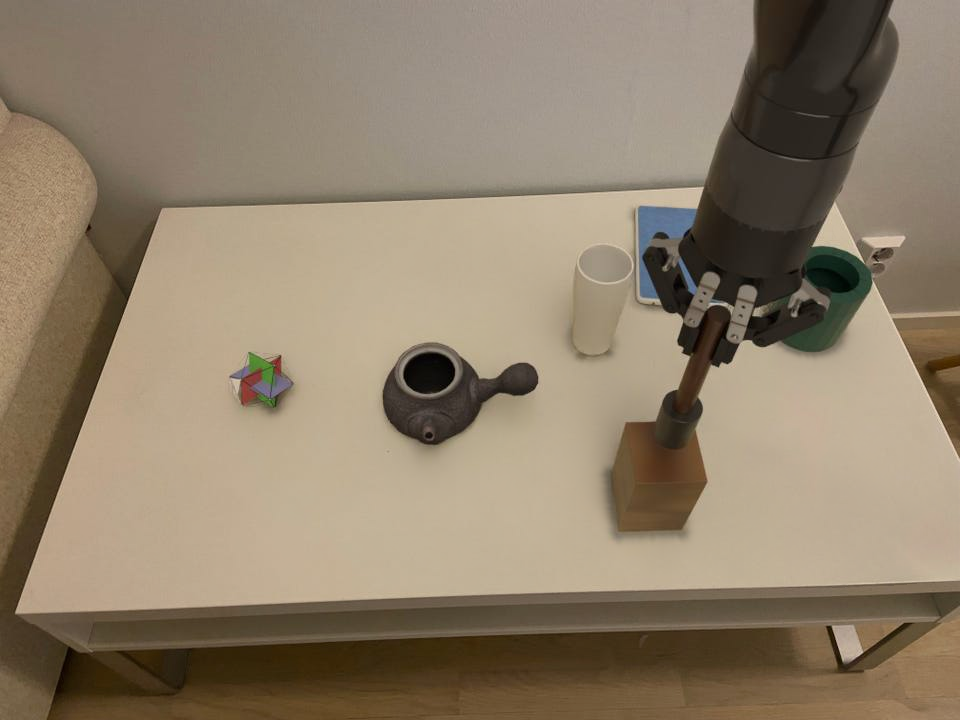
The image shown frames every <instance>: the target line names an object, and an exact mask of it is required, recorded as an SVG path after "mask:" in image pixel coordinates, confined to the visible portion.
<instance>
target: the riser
mask: <svg viewBox="0 0 960 720" xmlns="http://www.w3.org/2000/svg"><path fill="white" fill-rule="evenodd" d="M655 422H656V420H655V421H626V422H625V423H624V428H623V430H622V434H621V436H620V437H621V438H620V441H619V445H618V448H617V452H616V455H615V457H614V463H613V466H612V470H611V472H610V479H611V487H612V495H613V500H614V508H615V514H616V521H617V529H618V532H619V533H622V532H624V533H625V532H628V533H629V532H655V531H656V532H659V531H682V530H683V529H684V526H685V525H686V523H687V522H688V519H689V517H690V515H691V513H692V512H693V510H694V508H695V507H696V505H697V504H698V501H699V499H700V497H701V495H702V494H703V492H704V490H705V488H706V486H707V485H708V483H709V482H708V481H709V480H708V477H707V473H706V469H705V468H706V467H705V464H704V460H703V456H702V451H701V447H700V442H699V438H698V434H697V428H696V429H695V431H694V433H693V436H692V438H691V440H690V442H689V444H688V445H687V446H685V447H684V448H681V449H677V450H672V449H668V448H665V447H663V446H662V445H660V444H659V443H658V442H657V441H656V439H655V437H654V434H653V428H654V425H655Z"/></svg>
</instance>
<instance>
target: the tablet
mask: <svg viewBox="0 0 960 720" xmlns="http://www.w3.org/2000/svg"><path fill="white" fill-rule="evenodd" d="M696 212H697V208H694V207H693V208H692V207H677V206H676V207H675V206H660V205H659V206H658V205H642V204H641V205H637V206H636V208H635V209H634V220H635V221H634V229H635V230H634V233H635V235H634V236H635V238H634V239H635V289H636V290H635V297H636V301H637V302H639V303H640V304H642V305H643V304H644V305H654V306H661V307H662V304H661V302H660V300H659V297H658V295H657V293H656V290H655V288H654V286H653V283H652V281H651V278H650V276H649V274H648V271H647V269H646V267H645V264H644V262H643V260H642V256H643V254H644V252H645V250H646V249H647V247H648V245H649V243H650V242H651V240H652V238H653V236H654V235H655V233H657V232H664V233H666V234H667V235H668V236H669V238H670V239H672V238H683V235H684V233H685V232H686V231H687V230H688V229H689V228H691V227H692V225H693V222H694V218H695V215H696ZM679 264H680V267H681V269H682V272H683V274H684V277H685V279H686V282H687V285H688V287H689V289H688V291H689V292H691V293H692V294H694V295H695V292H696V290H697V287H696V286H695V284H694V282H693V280H692V279H691V277H690V275H689V273H688V271H687V269H686V267H685V265H684V263H683V261H682V259H681V257H680V259H679ZM713 305H722V306H724V307H726V308H727V309H728V307H729V306H730V305H729V304H728V303H726V302H724V301H719V300H713V299H711V301H710V303H709V305H708V307H707V309H706V310H708V308H709V307H711V306H713Z"/></svg>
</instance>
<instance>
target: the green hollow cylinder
mask: <svg viewBox="0 0 960 720" xmlns="http://www.w3.org/2000/svg"><path fill="white" fill-rule="evenodd" d="M805 266H806V276H805V278H804V279H805V280H806V281H808V282H809V283H810V284H811V285H812V286H813V287H814V288H817V287H825V288H828V289H829V290H830V291H831V292H832V296H831V299H830V303H829V306H828V309H827V312H826V314H825V317H824V320H823V321H822V322H821V323H819V324H817V325H814V326H812V327H810V328H808V329H805V330H803V331H801V332H799V333H796V334H794V335H792V336H790V337H787V338H785V339H783V340H780V341H779V342H781V343H783V344H784V345H786V346H788V347H790V348H793V349H794V350H798V351H802V352H808V353H817V352H818V353H819V352H823V351H826V350H828V349H830V348H832V347H834V346H835V344H837V343H838V341H839V340H840V339H841V337H842V336H843V334H844V333H845V331H846V329H847V328H848V327H849V325H850V323H851V322H852V320H853V319H854V317H855V316H856V314H857V312H858V311H859V310H860V308H861V306H862V305H863V303H864V301H866V299H867V297H868V295H869V294H870V293H871V290H872V287H873V284H874V283H873V282H874V281H873V276H872V272H871V271H870V269H869V267H868V266H867V264H865V262H864V261H862V260H861V259H860V258H859V257H858V256H856V255H854V254H852V253H851V252H849V251H848V250H844V249H841V248H838V247H834V246H828V245H818V246H817V245H816V246H812V248H811V250H810V252H809V254H808V256H807V258H806V260H805ZM791 296H792V295H789V296H787V297H784V298H782V299H779V300H776V301H774V302H771V305H770V307H769V310H768V312H769V311H771V310H773V309H775V308H777V307H779V306H781V305H783V304H785V303H787V302H789V301H790V298H791Z"/></svg>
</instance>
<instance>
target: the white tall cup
mask: <svg viewBox="0 0 960 720" xmlns="http://www.w3.org/2000/svg"><path fill="white" fill-rule="evenodd" d="M634 270H635V264H634V260H633V258H632V256H631V255H630V253H629V252H628V251H626V250H625V249H624V248H623V247H620V246H618V245H615V244H611V243H605V242H603V243H602V242H601V243H594V244H591V245H588V246H587V247H585V248H583V249H582V250H581V251H580V252H579V254H578V255H577V259H576V263H575V268H574V274H573V283H572V332H571V342H572V344H573V346H574V348H575V350H577V351H578V352H580V353H582V354H583V355H586V356H599V355H602V354H604V353H606V352H608V350H609V349H610V348H611V346H612V344H613V340H614V336H615V333H616V329H617V328H618V324H619V322H620V319H621V316H622V314H623V309H624V308H625V306H626V302H627V299H628V296H629V293H630V290H631V286H632V282H633V281H632V280H633V277H634Z"/></svg>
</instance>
